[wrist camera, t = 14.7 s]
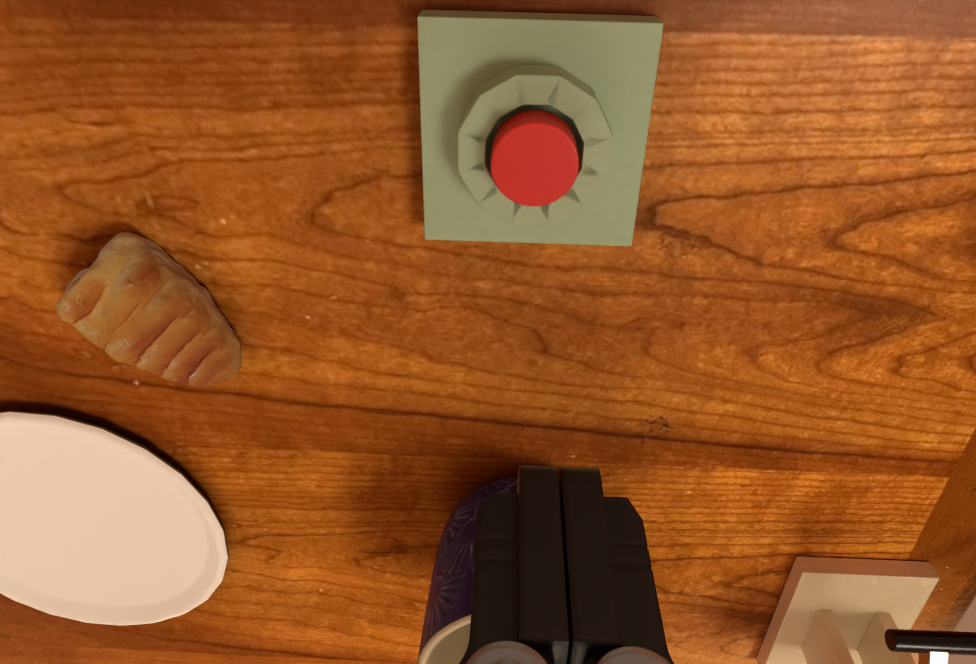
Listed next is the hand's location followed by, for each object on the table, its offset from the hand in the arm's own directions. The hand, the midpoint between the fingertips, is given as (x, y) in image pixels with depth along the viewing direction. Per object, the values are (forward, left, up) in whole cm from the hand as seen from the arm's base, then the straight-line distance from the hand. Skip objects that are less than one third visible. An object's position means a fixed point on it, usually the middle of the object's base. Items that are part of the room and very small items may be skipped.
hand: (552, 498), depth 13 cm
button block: (0, 0, -23) cm, 23 cm away
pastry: (+22, -2, -23) cm, 32 cm away
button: (0, 0, -20) cm, 20 cm away
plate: (+40, +8, -23) cm, 47 cm away
